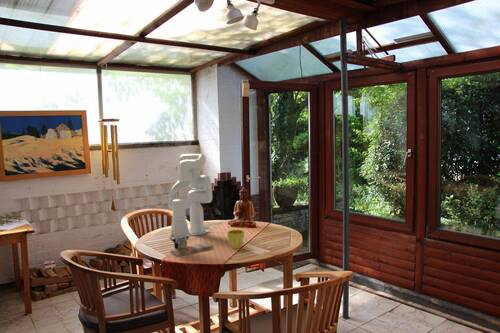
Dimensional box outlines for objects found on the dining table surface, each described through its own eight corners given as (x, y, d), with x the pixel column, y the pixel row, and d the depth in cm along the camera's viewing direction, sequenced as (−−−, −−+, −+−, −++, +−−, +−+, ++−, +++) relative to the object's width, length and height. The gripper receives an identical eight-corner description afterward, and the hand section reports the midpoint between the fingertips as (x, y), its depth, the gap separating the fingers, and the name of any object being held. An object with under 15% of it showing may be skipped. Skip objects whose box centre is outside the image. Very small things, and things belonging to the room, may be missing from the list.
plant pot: (238, 250, 247) (238, 234, 247) (224, 248, 253) (224, 232, 252) (247, 245, 256) (247, 230, 255) (234, 244, 262) (233, 229, 261)
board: (205, 245, 260) (205, 242, 260) (213, 248, 253) (212, 245, 253) (171, 253, 246) (171, 249, 246) (177, 256, 239) (177, 252, 239)
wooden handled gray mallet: (182, 248, 256) (182, 237, 255) (193, 252, 245) (192, 241, 245) (175, 249, 253) (175, 238, 252) (185, 254, 242) (184, 242, 242)
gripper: (188, 216, 259) (190, 244, 261) (163, 220, 249) (165, 249, 251) (194, 217, 253) (195, 246, 255) (169, 222, 243) (170, 252, 245)
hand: (180, 247), depth 253 cm, fingers closed on wooden handled gray mallet, 5 cm apart
